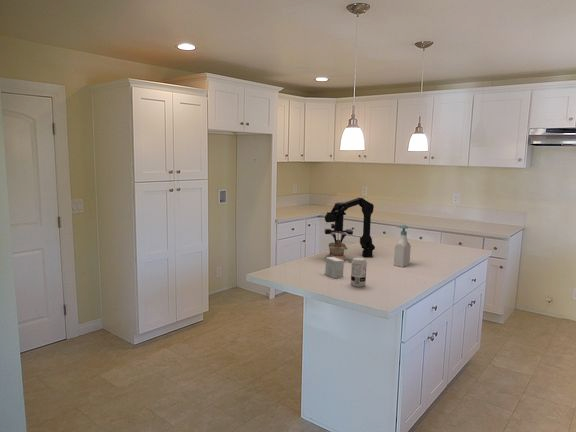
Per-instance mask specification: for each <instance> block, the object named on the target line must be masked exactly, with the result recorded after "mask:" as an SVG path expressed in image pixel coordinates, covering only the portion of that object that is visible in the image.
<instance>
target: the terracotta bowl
mask: <svg viewBox="0 0 576 432" xmlns="http://www.w3.org/2000/svg"><path fill="white" fill-rule="evenodd" d="M331 257H335V258H338V259H341V260H344V261H345V254H344V255H343V254H331Z"/></svg>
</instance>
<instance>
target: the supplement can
mask: <svg viewBox="0 0 576 432" xmlns="http://www.w3.org/2000/svg"><path fill="white" fill-rule="evenodd" d="M352 259H353V260H352V263H351V269H350V271H351V273H350V284H351V286H353V287H356V286H357V288H361V286H363V287H364V286H366V282H367V264H368V262H367V260H366V258H364V257H353V258H352Z"/></svg>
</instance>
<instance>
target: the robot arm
mask: <svg viewBox="0 0 576 432" xmlns="http://www.w3.org/2000/svg"><path fill="white" fill-rule="evenodd" d="M356 206H359V207H360V208H361V212H362V215H363V222H362V223H363V225H362V226H363V229H362V235H361V236H360V237H359V245H360V246H361V249H362V252H361V256H362V258H364V259H366V258H368V259H373V258H374V257H373V251H374V250H375V249H376V246H375V245H374V244H373V238H372V236H371V223H372V222H371V221H372V220H371V219H372V214H373V212H374V206H375V205H374V204H373V203H371V202H370V201H368V200H366V199H365V198H363V197H357V198H354V199H351V200H350V199H349V200H348V201H347V200H346V201H344V202H342V201H341V202H336V203H334V206H333V207H332V209H331V211H329V212H328V211H327V212H326V214H325V215H324V221H325V222H326V223H331V224H330V228H325V229H324V234H325V235H331V236H332V237H333V239H334V240H333V241H334V242H335V244H336V240H337V235H336V234H340V239H339V240H340V241H341V243H343V241H344V239H345V237H347V235H352V236H353V235H354V230H352V229H345V230H344V216H346V215H347V213H346V211H347V210H348V209H349V208H353V207H356Z"/></svg>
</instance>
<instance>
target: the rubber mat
mask: <svg viewBox="0 0 576 432" xmlns="http://www.w3.org/2000/svg"><path fill="white" fill-rule="evenodd" d="M345 259H346V261H347V263H348V264H352V260H353V258H345Z"/></svg>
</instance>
